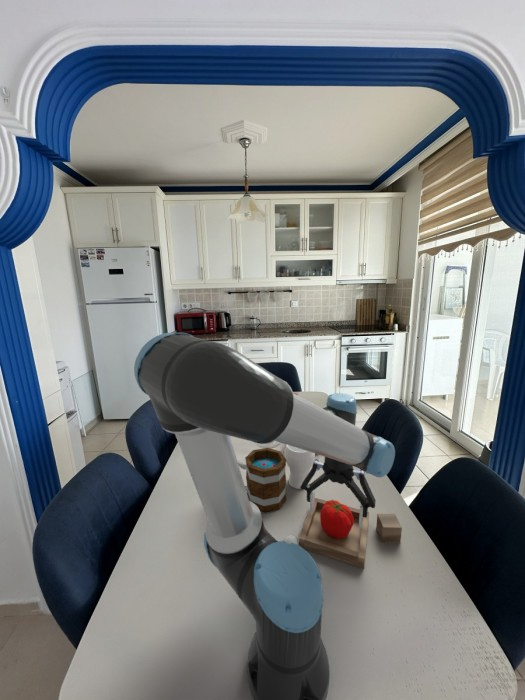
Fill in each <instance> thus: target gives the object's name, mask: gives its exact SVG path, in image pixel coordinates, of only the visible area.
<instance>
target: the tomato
mask: <svg viewBox="0 0 525 700" xmlns="http://www.w3.org/2000/svg"><path fill="white" fill-rule="evenodd" d="M326 501H327V502H326V503H325V504H324V506H323V507H322V510H321V514H320V521H321V526H322V529H323V531H324V532H325V533H326V534H327V535H328V536H330V537H332V538H335V539H342V538H344V537H346V536H347V535H348V534H349V532H350V530H351V528H352V526H353V523H354V517H353V515H352V513H351V511H350V509H349V508H348V507H349V506H348V505H346V504H343V503H341V502H340V501H338V500H333V499H331V500H330V499H329V500H326ZM347 506H348V507H347Z"/></svg>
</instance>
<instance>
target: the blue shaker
mask: <svg viewBox="0 0 525 700" xmlns="http://www.w3.org/2000/svg"><path fill="white" fill-rule="evenodd" d="M282 541H285V542H286V544H291V543H294V544H297V545H299V541H298V540H297V538H296V537H295V536H294V535H292V534H291V535H289V534H288V535H286V536H285V537H284V538H283V540H282Z"/></svg>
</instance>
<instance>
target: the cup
mask: <svg viewBox="0 0 525 700" xmlns="http://www.w3.org/2000/svg"><path fill="white" fill-rule="evenodd" d="M284 457H285V459H286V465H287V467H288V469H289V475H288V476H289V478H288V484H289V486H291V487H292V488H293V489H297V490H302V489H301V485H302V483H303V481H304V479H305V478H306V476H307V475H308V473H309V472H310V470H311V469H312V466H313V463H314V461H315V459H316V454H315V453H312V452H309V451H306V450H303V449H299V448H296V447H293V446H290V445H287V444H285V448H284ZM309 484H311V481H310V482H309V483H308V485H309Z"/></svg>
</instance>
